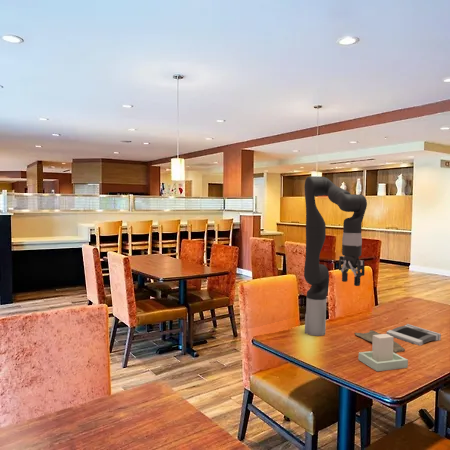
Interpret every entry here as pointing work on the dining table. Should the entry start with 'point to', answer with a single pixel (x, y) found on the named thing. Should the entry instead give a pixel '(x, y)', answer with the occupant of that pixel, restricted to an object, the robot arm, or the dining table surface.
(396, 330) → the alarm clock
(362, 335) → the stone tool
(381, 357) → the gray block
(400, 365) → the pale green tray
